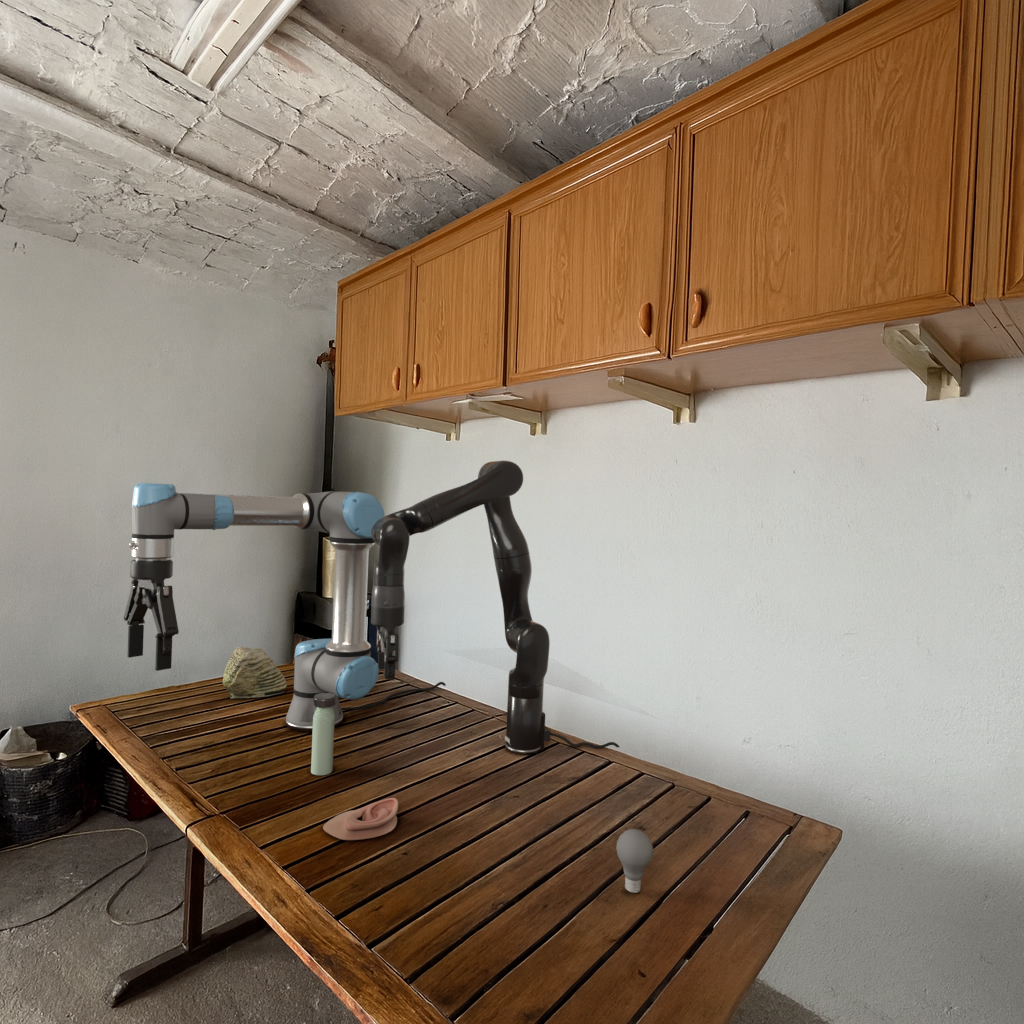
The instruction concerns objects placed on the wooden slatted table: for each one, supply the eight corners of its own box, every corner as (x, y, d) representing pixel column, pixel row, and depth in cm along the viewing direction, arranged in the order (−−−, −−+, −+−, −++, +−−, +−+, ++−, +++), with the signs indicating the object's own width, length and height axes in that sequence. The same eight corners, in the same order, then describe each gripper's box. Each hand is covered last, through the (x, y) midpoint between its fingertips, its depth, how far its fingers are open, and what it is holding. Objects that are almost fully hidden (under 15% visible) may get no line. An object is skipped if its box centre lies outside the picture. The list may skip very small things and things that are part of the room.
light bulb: (610, 879, 108) (613, 822, 108) (644, 879, 109) (647, 822, 109) (619, 902, 102) (622, 840, 102) (655, 901, 103) (658, 840, 103)
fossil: (218, 695, 195) (220, 647, 195) (278, 685, 208) (279, 640, 207) (228, 703, 189) (230, 653, 188) (289, 692, 201) (290, 645, 201)
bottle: (306, 773, 145) (309, 698, 144) (320, 765, 149) (322, 693, 149) (323, 777, 143) (326, 702, 143) (336, 769, 148) (339, 696, 147)
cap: (309, 705, 145) (309, 697, 144) (322, 700, 149) (322, 691, 149) (326, 709, 143) (326, 700, 143) (339, 703, 147) (339, 694, 147)
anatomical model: (315, 814, 118) (343, 787, 129) (314, 835, 118) (343, 807, 129) (382, 825, 115) (405, 796, 127) (381, 846, 116) (404, 816, 127)
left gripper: (108, 554, 134) (104, 654, 134) (159, 565, 118) (155, 678, 119) (146, 552, 140) (143, 648, 140) (199, 563, 124) (195, 671, 124)
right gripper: (410, 608, 141) (408, 681, 141) (398, 598, 154) (396, 664, 154) (376, 610, 138) (374, 683, 138) (366, 599, 151) (365, 666, 152)
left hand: (148, 662), depth 129 cm, fingers open, 13 cm apart
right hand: (386, 673), depth 146 cm, fingers open, 8 cm apart
